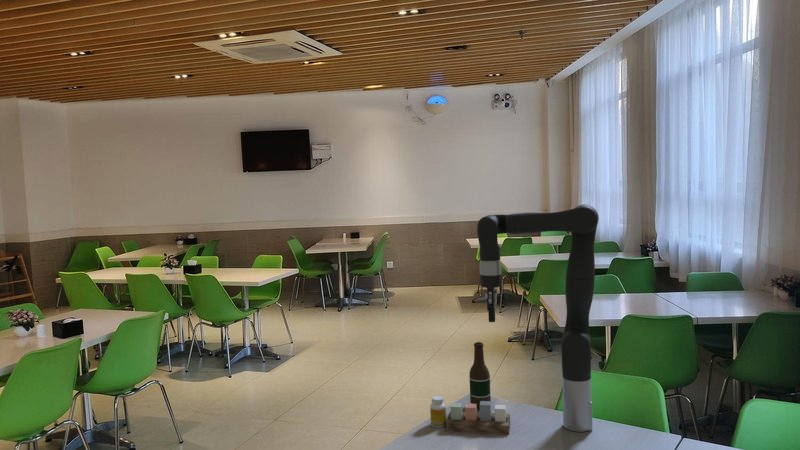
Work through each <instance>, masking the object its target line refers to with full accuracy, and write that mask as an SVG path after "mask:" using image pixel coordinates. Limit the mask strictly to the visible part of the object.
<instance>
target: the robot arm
mask: <svg viewBox="0 0 800 450" xmlns="http://www.w3.org/2000/svg"><path fill="white" fill-rule="evenodd" d="M599 218H600V217H599V214H598V210H596V209H595V208H594V206H592V205H590V204H587V203H586V204H579V205H577V206H575V207H574V208H571V209H567V210H561V211H556V212H519V213H517V212H516V213H510V214H489V215H486V216H483V217H481V218H480V219H479V220H478V222H477V226H476V227H477V228H476V229H477V230H476V231H477V238H478V244H479V285H480V287H481V288H486V290H485V293H484V294H485V295H484V297H485V305H486V310H487V312H488V322H489V323H495V321H496V307H497V304H498V303H497V302H498V301H497V299H498V291H497V290H496V288H499V287H502V285H503V283H502V282H503V281H502V279H503V278H502V276H503V275H502V263H501V248H500V247H501V246H500V244H499V243H498V235H503V234H510V235H521V234H522V235H524V234H525V235H527V234H535V233H544V232H546V233H547V232H569V233H571V244H570V245H571V246H570V250H569V254H568V255H569V256H568V260H567V266H566V273H565V285H564V286H565V287H564V288H565V289H564V290H565V292H564V294H565V305H566V318H565V323H564V324H565V325H564V330H563V334H562V338H561V371H562V372H561V373H562V415H563V416H562V420H563V421H562V422H563V423H562V425H563V428H564V429H566V430H569V431H571V432H577V433H581V432H583V433H584V432H588V431H589V432H590V431H593V402H592V375H591V374H592V366H591V365H592V358H591V357H592V356H591V354H592V353H591V350H592V347H591V337H590V335H591V334H590V313H591V312H590V311H591V307H592V303H593V298H594V293H595V292H594V291H595V282H596V281H595V276H596V275H595V274H596V263H595V260H596V259H595V240H596V232H597V228H598V224H599V220H600V219H599Z"/></svg>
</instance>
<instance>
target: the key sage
mask: <svg viewBox="0 0 800 450" xmlns="http://www.w3.org/2000/svg"><path fill="white" fill-rule="evenodd" d="M450 411H451V420H463V412H464V411H463V403H462V402H461V403H460V402H451V404H450Z"/></svg>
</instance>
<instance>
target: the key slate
mask: <svg viewBox="0 0 800 450" xmlns="http://www.w3.org/2000/svg"><path fill="white" fill-rule="evenodd" d="M479 413H480V421H491V418H492V417H491V413H492V401H480V409H479Z"/></svg>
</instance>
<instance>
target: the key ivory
mask: <svg viewBox="0 0 800 450" xmlns="http://www.w3.org/2000/svg"><path fill="white" fill-rule="evenodd" d="M494 413H495V422H506V414H507V405H506V404H494Z"/></svg>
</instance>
